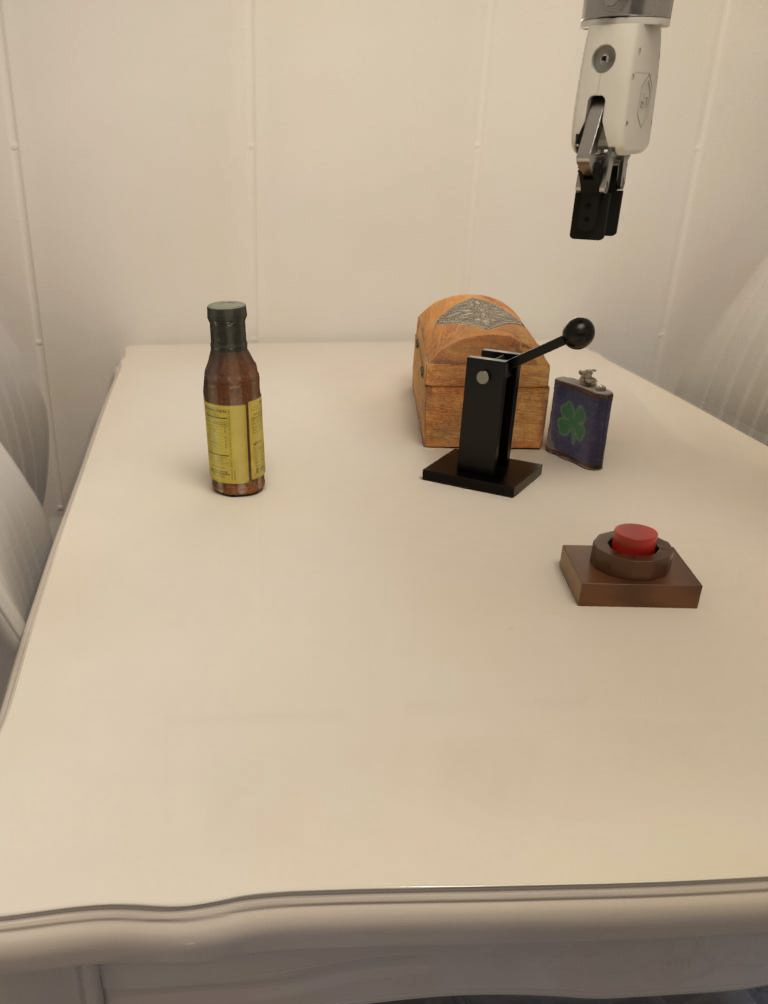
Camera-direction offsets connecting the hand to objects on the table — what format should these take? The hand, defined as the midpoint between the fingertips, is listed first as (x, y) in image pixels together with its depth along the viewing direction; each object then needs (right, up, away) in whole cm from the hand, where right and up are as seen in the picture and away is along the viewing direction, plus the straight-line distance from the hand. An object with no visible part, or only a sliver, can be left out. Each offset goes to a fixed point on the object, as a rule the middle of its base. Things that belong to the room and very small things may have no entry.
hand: (593, 235), depth 89 cm
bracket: (-7, -20, +17) cm, 28 cm away
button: (0, -31, -9) cm, 33 cm away
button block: (0, -35, -7) cm, 35 cm away
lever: (-3, -10, +8) cm, 14 cm away
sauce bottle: (-35, -22, +14) cm, 44 cm away
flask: (+5, -17, +23) cm, 29 cm away
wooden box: (-4, -8, +39) cm, 40 cm away
